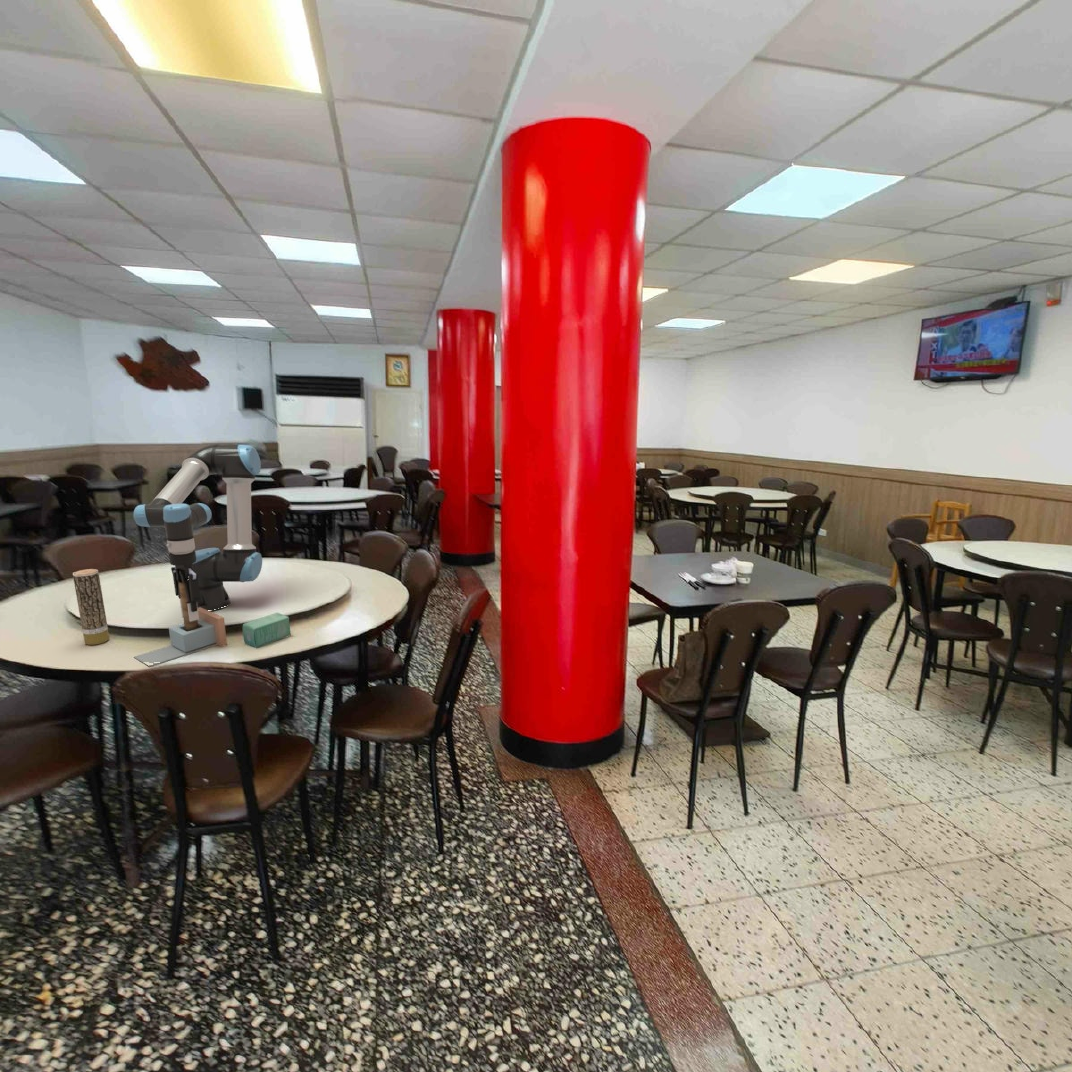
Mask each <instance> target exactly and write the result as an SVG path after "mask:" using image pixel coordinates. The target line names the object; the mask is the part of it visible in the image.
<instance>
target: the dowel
mask: <svg viewBox="0 0 1072 1072" xmlns="http://www.w3.org/2000/svg"><path fill="white" fill-rule="evenodd" d="M179 589H180V597H181V604H182V612H183V618H182V619H183V624H184V627H185V631H187V632H188V631H191V630H194V629H198V628H199V627H198V620H194V621H191V622H190V621H189V613H188V606H187V603H186V602H188V597H187V593H186V589H185V584H184V583H183V582H181V583H179ZM181 604H180V605H181ZM182 612H181V613H182Z"/></svg>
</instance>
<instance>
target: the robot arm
mask: <svg viewBox="0 0 1072 1072" xmlns="http://www.w3.org/2000/svg"><path fill="white" fill-rule="evenodd" d="M261 470H262V463H261V459H260V455H259V453H258V451H257V450H256V448H255V447H253V446H252V445H248V444H209V445H205V446H203V447H200V448H198V449H197V450H195V451H193V452H191V453H190V454H189V455H188V456H187V457H186V458H185V459H184V460H183V461H182V463H181V468H180V469H179V471H178V472H177V473H176V474H174V476H173V477H172V478H171V479H170V480H169V481H168V482H167V484H166V485H165V486H164V487H163V488H162V489H161V490H160V492H159V493H158V494H157V495H156V496H155V498H153V499H152V501H151V502H150V503H148V504H147V503H144V504H139V505H137V506H135V508H134V510H133V519H134V520H133V521H135V524H136V525H138V526H139V527H146V528H164V529H165V534H166V535H165V536H166V542H167V543H166V544H165V545H166V547H167V549H168V550H167V551H168V553H169V554H168V558H169V564H170V565H171V566H173V567H171V568H170V570H171V573H172V579H173V585H174V592H175V595H176V596H177V598H178V599H179V603H180V609H181V610H180V611H181V618H182V619H183V612H182V604H181V597H180V589H179V583H181V582H183V583H184V584H185V589H186V593H187V597H188V602H186V603H187V606H188V613H189V621H190V622H191V621H194V620H198V619H199V615H198V608H199V607H201V608H203V609H206V610H214V609H218V608H221V607H224V606H227V605H228V606H230V605H231V599H230V596H229V594H228V592H227V591H226V588H225V586H224V582H225V583H227V582H235V583H245V582H247V583H248V582H254V581H256V580H257V578H259V576H260V574H261V571H262V567H263V557H262V554H261V553H260V552H258V551H257V547H256V546H255V545H254V544H253V543H252V542H253V541H252V540H253V539H252V538H253V536H252V530H253V527H252V483H253V482H254V481H255V480H256V476H258V475H259V474H260V473H261ZM211 475H212V476H213V475H221V479H222V480H223V481H224V482H225V483H226V518H227V519H226V521H227V522H226V525H227V527H226V529H227V543H226V545H225V546H224V547H223V548H222V549H223V551H222V552H221V550H220V548H218V547H208V548H203V549H197V550H196V544H195V537H194V529H196V528H199V527H203V526H204V525H206V524H207V523H209V521H210V520H211V519H212V517H213V516H212V510H211V509H210V507H209V506H208V505H207V504H205V503H200V502H198V503H192V504H187V503H184V501H185V500H186V498H188V496H189V495H190V494H191V493H192V492H193V490H194V489H195V488H196V487H197V486H198V485H199V483H200V481H204V480H205V479H207V478H208V477H209V476H211ZM228 606H227V607H228Z"/></svg>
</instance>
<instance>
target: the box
mask: <svg viewBox="0 0 1072 1072" xmlns="http://www.w3.org/2000/svg"><path fill="white" fill-rule="evenodd" d="M291 634H292V633H291V625H290V618H289V616H287V615H284V614H282V613H280V612H275V613H272V614H269V615H268V614H267V615H266V616H263V617H260V618H256V619H254V620H251V621H248V622H245V623H243V624H242V637H243V641H244V643H245V645H248V646H251V647H253V648H256V649H258V648H260V647H265V646H266V645H269V644H272V643H274V642H276V641H280V640H282V639H284V638H287V637H290V636H291Z"/></svg>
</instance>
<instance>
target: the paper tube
mask: <svg viewBox="0 0 1072 1072" xmlns="http://www.w3.org/2000/svg"><path fill="white" fill-rule="evenodd" d="M99 572H100V571H99V570H98V569H96V568H95V569H94V568H89V569H88V568H87V569H80V570H77V571H74V572H72V577H73V583H74V589H75V595H76V601H77V606H78V607H77V608H78V612H79V618H80V622H81V629H82V635H83V640H84V643H85V644H86V645H88V646H95V645H100V644H103V643H106V642H107V641H109V639H110V634H109V628H108V627H109V626H108V622H107V615H106V610H105V603H104V598H103V592H102V584H101V578H100V573H99Z"/></svg>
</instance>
